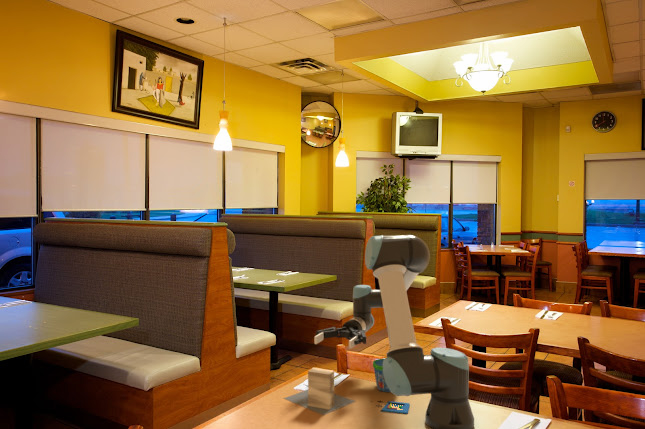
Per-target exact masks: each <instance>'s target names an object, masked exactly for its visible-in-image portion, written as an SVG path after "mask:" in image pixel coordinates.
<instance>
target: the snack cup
mask: <svg viewBox="0 0 645 429" xmlns="http://www.w3.org/2000/svg"><path fill="white" fill-rule="evenodd" d="M384 359H385V358H379V359H375V360H374V361H372V367H373V370H374V376H375V383H376V388H377V389H378V390H379V391H380V392H384V393H392V392H391V391H390V390H389V388H388V387H387V384H386V382H385V379H384V375H383V360H384Z"/></svg>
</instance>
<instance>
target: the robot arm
mask: <svg viewBox="0 0 645 429" xmlns="http://www.w3.org/2000/svg"><path fill="white" fill-rule="evenodd" d="M430 260H431V252H430V250H429V247H428V245H427V244H426V242H425V241H424V240H423V239H422V238H420V237H418V236H417V235H413V234H402V235H401V234H400V235H399V234H397V235H396V234H395V235H394V234H393V235H383V234H381V235H373V236H371V237H369V238H368V241H367V243H366V246H365V254H364V263H365V267H366V268H367V270H372V276H373V277H375V278H376V279H377V280H378V285H379V289H372V287H371V286H370V285H367V284H358V285H355V286H353V289H352V290H353V291H352V317H351V318H350V319H349V320H347V321H345V322H344V323H343V324H342V326H341V327H337V328H336V326H331V327H328V328H324V329H320V330H316V331H315V336H314V337H313V338H314V339H313V340H314V345H318V344H319V343H321V342H322V341H323V340H324V339H330V338H331V339H332V338H336V339H339V338H343V339H344V338H345V339H346V340H348V349H352V348H354V347H355V346H358V345H360V344H364V345H366V344H367V335H366V332H368V331H370V330H371V329H372V327H373V326H374V324H375V318H374V316H373V315H372V309H375V308H377V309H378V308H383V314H384V320H385V325H386V331H387V336H388V343H389V349H388V350H387V352H386V357H385V358H383V359H384V360H383V375H384V379H385V382H386V384H387V387H388V388H389V390H390V391H391V392H390V393H391V394H393V395H395V396H397V397H401V396H402V397H403V396H404V397H405V396H406V397H410V396H416V395H427V394H428V395H429V394H430V400H429V402H428V405H427V408H426V410H425V421H424V422H425V423H426V425H427V426H428V427H429V428H431V429H473V428H475V417H474V414H473V410H472V407H471V405H470V401H469V394H470V393H469V380H470V379H469V374H470V373H469V372H470V366H469V364H470V363H469V358H468V356H467V355H466V354H465V353H464V352H461V351H460V350H456V349H453V348H447V347H433V348H431V349H430V352H429V353H430V354H424V349H423V347H422V346H421V345H419V344H418V343H417V339H416V334H415V329H414V328H415V327H414V324H413V319H412V313H411V308H410V303H409V299H408V293H407V291H408V290H409V288H410V287H411V285H412V284H413V283H414V281H415V279H416V278H417V276H418V275H419V274H420V273H423V272H424V271H425V270H426V268H427V267H428V265H429V263H430Z"/></svg>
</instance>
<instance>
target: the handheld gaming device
mask: <svg viewBox="0 0 645 429" xmlns="http://www.w3.org/2000/svg"><path fill="white" fill-rule="evenodd" d="M371 403H373V401H372V400H371ZM377 403H383V401H382V400H377ZM393 404H394V406H395V407H396V406H397V407H398V405H399V408H400V409H403V410H397V408H392V407H391V405H392V406H393ZM395 404H396V405H395ZM400 405H401V406H400ZM402 405H403V406H402ZM410 405H411V404H410V403H409V402H401V401H390V400H389V401H387V403H384V406H382V405H380V404H378V405H375V407H377V408H381V410H380V412H384V413H391V412H393V414H400V413H403V414H404V415H408V414H409V411H410ZM403 414H402V415H403Z"/></svg>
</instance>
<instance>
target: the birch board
mask: <svg viewBox="0 0 645 429" xmlns="http://www.w3.org/2000/svg"><path fill="white" fill-rule="evenodd" d="M307 373H308V374H307V376H308V378H307V382H308V384H307V387H308V388H307V390H308V406H313V407H318V408H323V409H329V410H330V409H331V408H332V407H333V406H334V393H335V370H331V369H326V368H325V369H324V368H318V367H312V368H311V369H309V370H308V371H307Z"/></svg>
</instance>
